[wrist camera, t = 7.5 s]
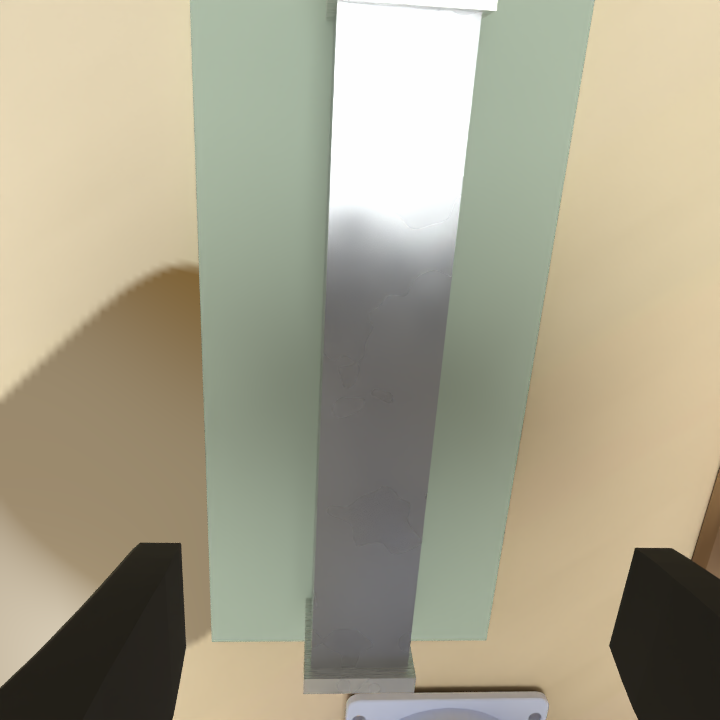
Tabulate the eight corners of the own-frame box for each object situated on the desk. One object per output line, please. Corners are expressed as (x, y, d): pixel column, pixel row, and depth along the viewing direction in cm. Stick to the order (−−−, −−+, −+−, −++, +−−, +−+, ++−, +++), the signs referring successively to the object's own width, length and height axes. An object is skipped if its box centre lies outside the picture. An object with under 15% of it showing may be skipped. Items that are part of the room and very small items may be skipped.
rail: (400, 611, 23) (414, 692, 20) (305, 611, 22) (303, 694, 19) (463, 3, 16) (500, -24, 13) (326, -7, 15) (329, -38, 12)
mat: (482, 627, 24) (486, 640, 23) (214, 628, 23) (211, 641, 23) (593, -48, 16) (603, -54, 15) (191, -83, 15) (186, -90, 15)
